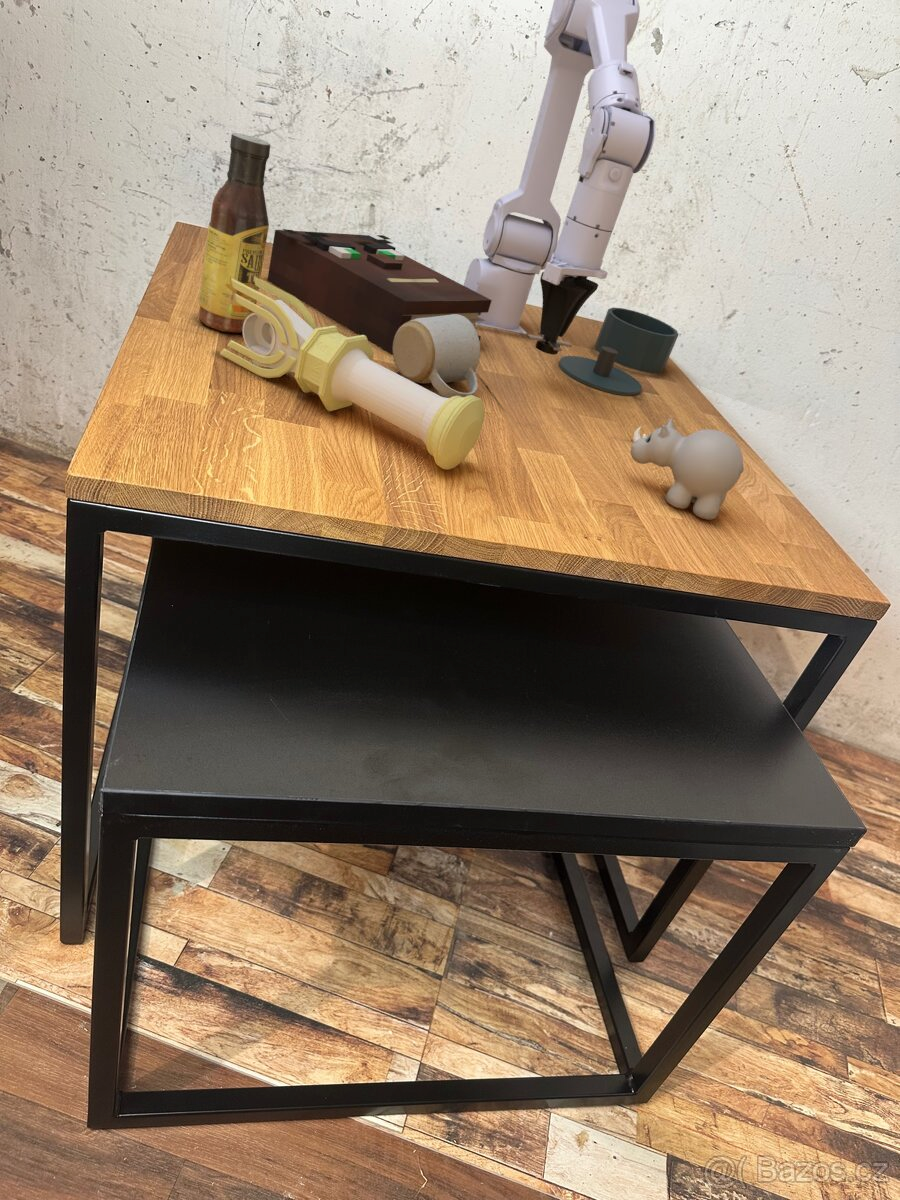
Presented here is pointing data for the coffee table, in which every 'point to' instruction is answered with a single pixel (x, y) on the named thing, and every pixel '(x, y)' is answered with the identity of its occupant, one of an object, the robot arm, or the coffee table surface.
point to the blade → (548, 343)
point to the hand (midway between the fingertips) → (551, 335)
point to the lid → (601, 373)
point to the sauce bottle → (235, 236)
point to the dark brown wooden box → (366, 283)
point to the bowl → (637, 339)
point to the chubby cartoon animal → (693, 465)
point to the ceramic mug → (438, 352)
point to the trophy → (350, 374)
